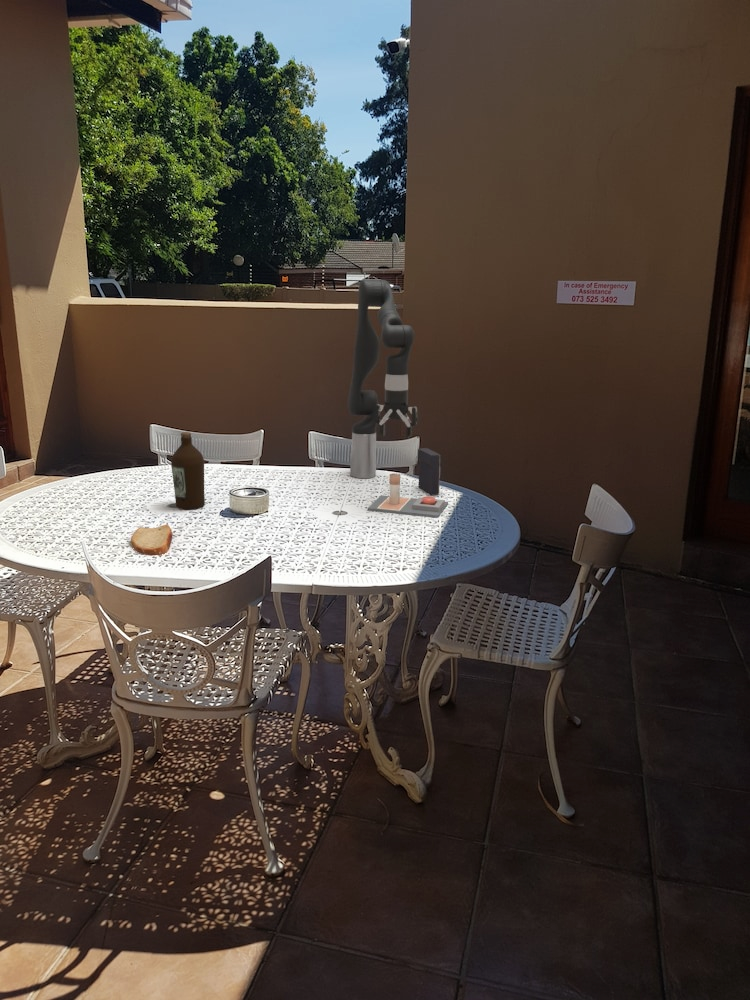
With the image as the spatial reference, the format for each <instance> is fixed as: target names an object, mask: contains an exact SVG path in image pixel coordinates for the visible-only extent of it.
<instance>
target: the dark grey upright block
mask: <svg viewBox="0 0 750 1000" xmlns="http://www.w3.org/2000/svg"><path fill="white" fill-rule="evenodd" d="M417 459H418V488H419V489H420V490H422V491H423V492H424V493H427V495H430V496H438V495H439V494H440V483H441V482H440V479H441V466H440V465H441V455H440V453H439V452H436V451H434V450H432V449H429V448H428V447H424V448H418V449H417Z"/></svg>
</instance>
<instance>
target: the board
mask: <svg viewBox="0 0 750 1000" xmlns="http://www.w3.org/2000/svg"><path fill="white" fill-rule="evenodd" d="M389 496H390V495H384V494H383V495H382V494H381V495H380V496H379V497H377V498H376V499H375V500H374V501H373V503H371V504H370V505H369V506H368V507H367V511H370V512H379V513H387V514H388V513H389V514H398V515H407V516H408V515H409V516H418V517H427V518H436V519H437V518H439V517H440V516H441V515H442V513H443V511H444V510H445V509H446V507H447V506H448V505H449V501H446V500H445V499H438V498H435V505H427V504H422V498H423V497H418V498H414V497H405V496H404V497H403V496H400V497H399V504H397V505H392V504H390V503H389Z"/></svg>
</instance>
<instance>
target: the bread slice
mask: <svg viewBox="0 0 750 1000" xmlns="http://www.w3.org/2000/svg"><path fill="white" fill-rule="evenodd" d="M172 540H173V531H172V528H171V527H170V525H169V524H163V525H160V526H156V527H152V528H151V527H150V528H149V527H143V526H142V527H141V526H140V527H138V528H136V530H135V531H134V532H133V533H132V535H131V538H130V544H132V545H131V546H132V549H133V548H134V549H135V550H136V551H137V552H136V553H138V552H139V554H141V555H144V554H145V555H146V556H152V555H158V556H162V554H163V555H165V553H166V554H167V553H168V552H169V550H170V548H171V544H172ZM134 549H133V550H134ZM135 550H134V551H135ZM145 555H144V556H145Z"/></svg>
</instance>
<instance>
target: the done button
mask: <svg viewBox="0 0 750 1000" xmlns="http://www.w3.org/2000/svg"><path fill="white" fill-rule="evenodd" d="M421 498H422V504H427V505H435V499H436V497H434V496H423V497H421Z"/></svg>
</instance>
